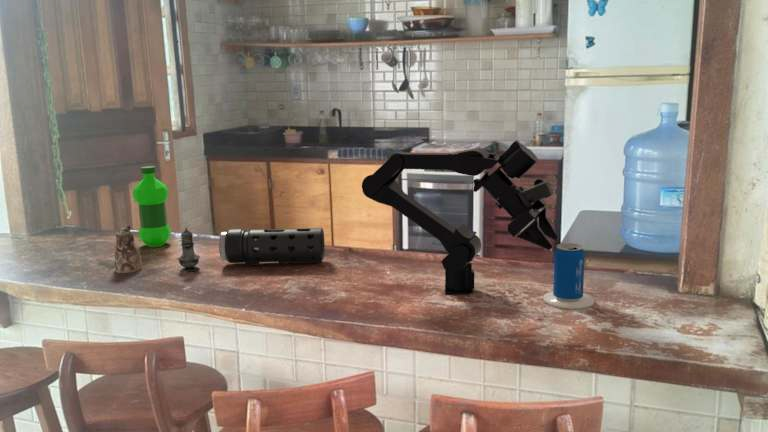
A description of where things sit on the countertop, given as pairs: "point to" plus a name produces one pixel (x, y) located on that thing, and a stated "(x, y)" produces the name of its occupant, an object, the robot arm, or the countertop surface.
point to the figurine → (126, 252)
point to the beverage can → (568, 272)
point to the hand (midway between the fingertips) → (553, 243)
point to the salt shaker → (188, 254)
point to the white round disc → (580, 304)
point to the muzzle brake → (272, 246)
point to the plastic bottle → (152, 209)
